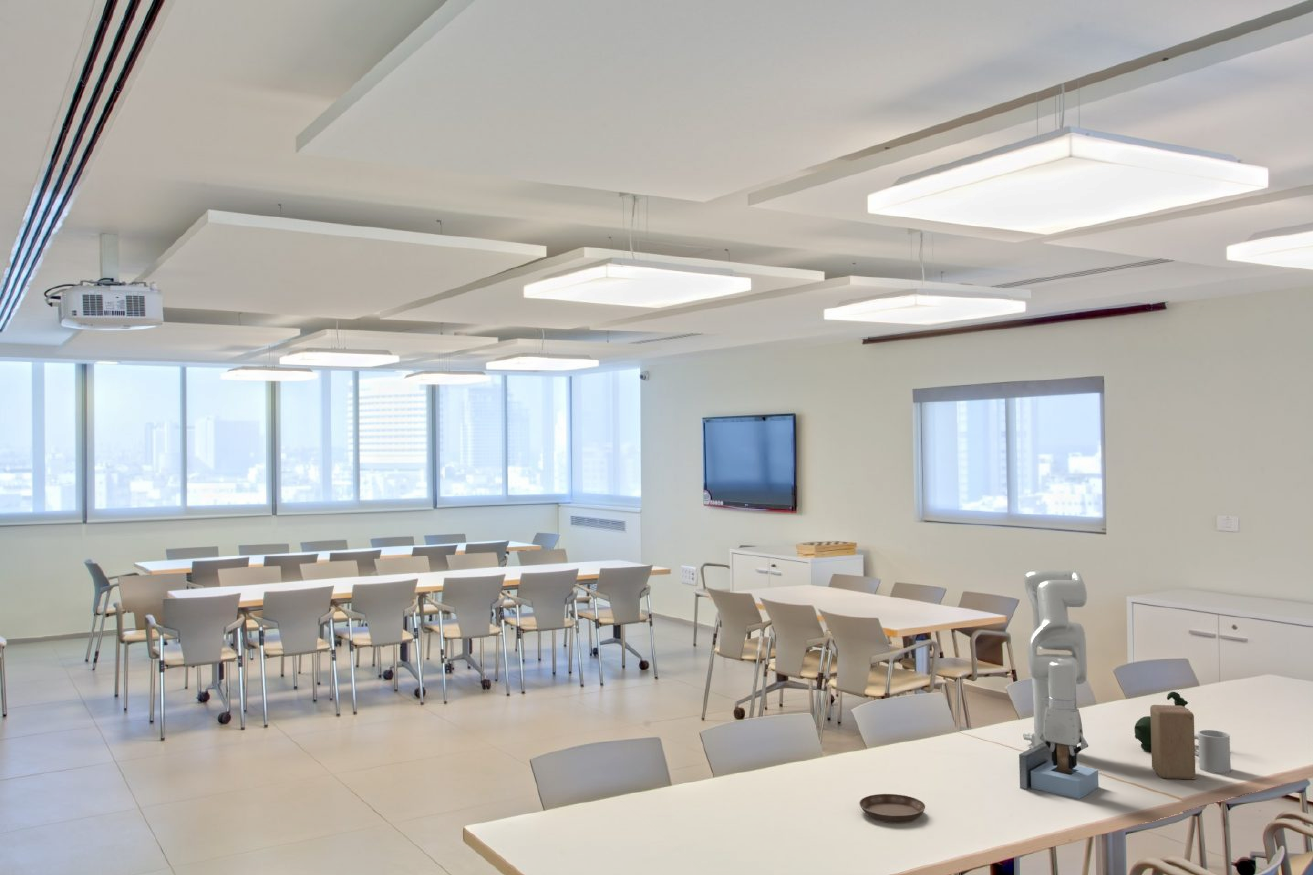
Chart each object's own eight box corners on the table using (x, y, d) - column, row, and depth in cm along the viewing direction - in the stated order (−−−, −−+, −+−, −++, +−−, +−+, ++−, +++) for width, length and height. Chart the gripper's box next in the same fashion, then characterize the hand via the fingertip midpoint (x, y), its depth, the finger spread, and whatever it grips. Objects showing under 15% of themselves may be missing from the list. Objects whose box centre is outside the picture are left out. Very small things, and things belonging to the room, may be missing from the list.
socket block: (1031, 787, 291) (1030, 770, 291) (1051, 776, 301) (1050, 759, 301) (1079, 798, 281) (1078, 781, 281) (1098, 786, 291) (1098, 769, 291)
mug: (1236, 770, 304) (1235, 734, 304) (1219, 775, 300) (1218, 738, 300) (1199, 760, 315) (1198, 725, 315) (1182, 764, 311) (1181, 729, 311)
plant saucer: (847, 808, 277) (846, 797, 277) (900, 800, 284) (899, 789, 284) (883, 830, 261) (883, 819, 261) (939, 820, 267) (938, 809, 268)
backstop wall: (1019, 788, 291) (1019, 754, 292) (1046, 773, 304) (1045, 741, 304) (1026, 789, 290) (1025, 755, 290) (1052, 775, 303) (1051, 742, 303)
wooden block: (1196, 780, 296) (1194, 713, 296) (1160, 778, 298) (1158, 711, 298) (1186, 770, 306) (1184, 704, 306) (1151, 768, 308) (1149, 703, 308)
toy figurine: (1169, 744, 338) (1121, 749, 326) (1170, 688, 339) (1123, 690, 327) (1195, 751, 330) (1147, 756, 318) (1197, 693, 331) (1149, 696, 319)
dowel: (1054, 777, 291) (1053, 736, 291) (1060, 774, 294) (1059, 733, 294) (1068, 780, 288) (1067, 738, 288) (1074, 776, 291) (1073, 735, 291)
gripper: (1029, 701, 295) (1031, 763, 294) (1086, 710, 283) (1088, 775, 282) (1040, 696, 300) (1041, 757, 300) (1096, 705, 288) (1098, 769, 288)
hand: (1064, 765), depth 291 cm, fingers closed on dowel, 4 cm apart
